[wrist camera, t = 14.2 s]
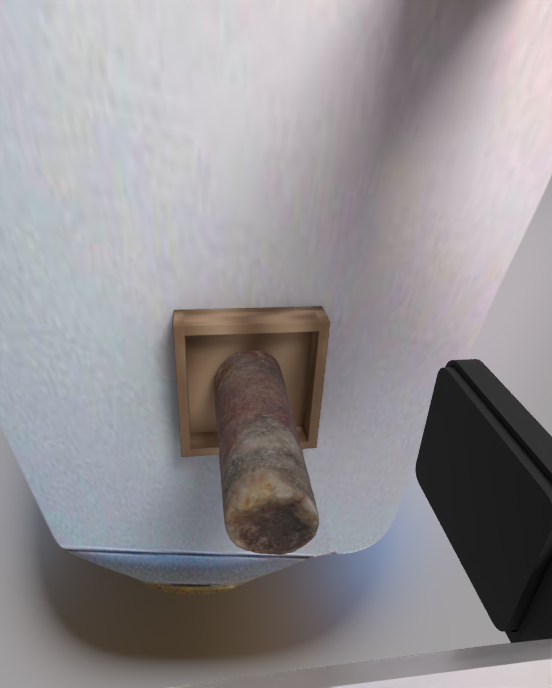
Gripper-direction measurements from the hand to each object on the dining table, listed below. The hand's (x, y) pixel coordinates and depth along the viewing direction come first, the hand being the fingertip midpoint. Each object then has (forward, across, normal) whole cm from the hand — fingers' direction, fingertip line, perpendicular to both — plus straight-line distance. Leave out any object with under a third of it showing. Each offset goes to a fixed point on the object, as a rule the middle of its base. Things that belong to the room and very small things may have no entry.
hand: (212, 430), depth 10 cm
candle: (+38, -5, +24) cm, 45 cm away
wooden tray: (+38, -5, +24) cm, 45 cm away
